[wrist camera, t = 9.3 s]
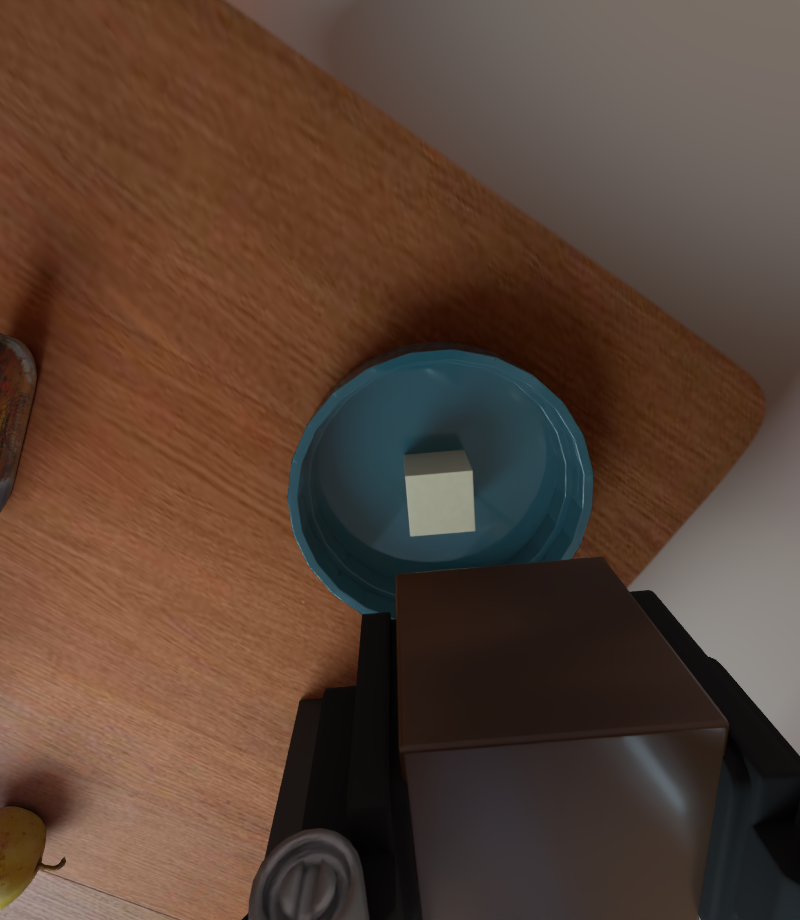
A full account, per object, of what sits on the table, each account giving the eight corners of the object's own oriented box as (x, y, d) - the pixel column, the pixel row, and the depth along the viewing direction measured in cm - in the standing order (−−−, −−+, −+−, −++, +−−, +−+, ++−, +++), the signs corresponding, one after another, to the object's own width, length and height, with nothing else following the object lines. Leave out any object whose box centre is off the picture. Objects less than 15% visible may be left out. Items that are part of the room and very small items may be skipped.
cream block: (464, 449, 34) (472, 470, 31) (466, 504, 36) (475, 531, 32) (403, 454, 34) (404, 475, 31) (408, 509, 36) (410, 536, 32)
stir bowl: (571, 328, 32) (599, 336, 28) (566, 582, 38) (588, 619, 34) (281, 354, 33) (264, 365, 28) (320, 602, 39) (311, 642, 34)
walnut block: (603, 554, 10) (734, 723, 6) (595, 717, 11) (698, 938, 8) (394, 572, 10) (398, 750, 6) (411, 733, 11) (422, 958, 8)
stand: (399, 692, 41) (404, 1008, 23) (407, 767, 44) (417, 1103, 26) (299, 700, 42) (228, 1020, 24) (313, 774, 44) (258, 1114, 26)
